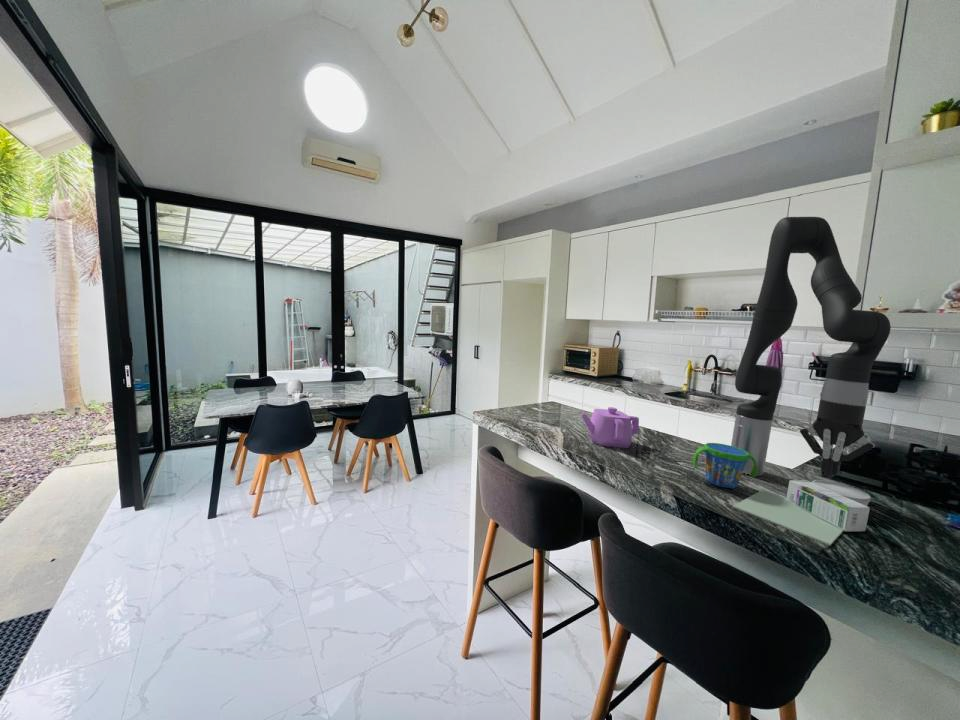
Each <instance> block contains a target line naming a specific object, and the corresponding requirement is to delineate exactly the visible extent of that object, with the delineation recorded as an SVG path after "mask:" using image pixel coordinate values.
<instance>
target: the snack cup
mask: <svg viewBox="0 0 960 720" xmlns="http://www.w3.org/2000/svg"><path fill="white" fill-rule="evenodd" d="M702 452H704V453H705V480H706V481H707V482H709V483H710V484H712V485H713V486H717V487H719V488H725V489H733V490H734V489H735V488H737V486H738V485H739V483H740V480H741V478H742V475H743V473H742V471H743V470H744V466H745V464H746V462H747V461H748V459H749V458H751V459H752V460H753V463H754V465H753V468H752V471H751V473H750V475H749V476H750V477H751V478H756V477H757V476H756V475H757V462H756V460H755V459H754V458H753V457H752V456H751V455H749V453H748V452H746V451H745V450H742V449H740V448H737V447H733V446H731V445H729V444H725V443H719V442H718V443H717V442H706V443H705V444H704V445H703V446H700V447H699V448H697V449H696V451H695V452H694V454H693V456H692V465H693V468H694V469H697V463H698V459H699V454H700V453H702Z"/></svg>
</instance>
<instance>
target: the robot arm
mask: <svg viewBox="0 0 960 720" xmlns="http://www.w3.org/2000/svg"><path fill="white" fill-rule="evenodd" d="M768 247H769V248H768V254H767V259H766V266H765V272H764V275H763V280H762V283H761V284H762V285H761V287H760V293H759V295H758V299H757V302H756V306H755V309H754V313H753V318H752V321H751V326H750V330H749V334H748V337H747V338H748V339H747V343H746V346H745V348H744V352H743V355H742V357H741V360H740V363H739V365H738V368H737V371H736V375H735V380H734V387H735V389H736V391H737V392H738V393H741V394H748V395H754V396H755V395H756V396H759V398H757V399H756V400H754V401H752V402H751V401H750V402H747V403H741V404H738V406H737V407H736V412H735V419H734V426H733V432H732V438H731V444H730V446H733V447H737V448H740V449H742V450H745V451H746V452H748V453H749V455H751V456H752V457H753V458H754V459H755V460H756V462H757V475H756V477H761V475H762V476H763V475H764V472H765V466H766V460H767V454H768V447H769V442H770V437H771V433H772V432H771V430H772V424H773V419H774V415H775V411H776V407H777V403H778V398H779V395H780V394H779V393H780V390H781V386H782V379H783V378H782V377H783V376H782V371H781V370H780V368H779V367H778V366H773V365H764V364H757V363H758V362H759V360H760V358H761V356H762V354H764V352H765V351H766V350H767V349H769V347H771V345H773V344H774V343H775V342H777V340H779V339H780V338H781V337H783V335H784V334H786V333H787V332H788V331H789V330H790V328H791V327H792V325H793V322H794V319H795V315H796V312H797V308H798V298H797V295H796V292H795V290H794V288H793V285H792V283H791V280H790V277H789V274H788V273H789V272H788V271H789V270H788V269H789V260H790V257H791V254H808V255H810V256H811V257H812V258H813V259H814V261H815V266H814V269H813V271H812V273H811V276H810V286H811V290H812V292H813V294H814V296H815V298H816V299H817V301H818V303H819V305H820V306H821V316H822V324H823V325H822V327H823V330H824V332H825V333H826V335H827V336H828V337H829V338H830V339H832V340H834V341H837V342H844V343H851V345H850V347H849V348H848V349H847V350H846V351H842V352H838V353H834V354H832V355H830V357H829V359H828V363H827V368H826V373H825V378H824V379H825V380H824V382H823V384H822V388H821V392H820V393H819V394H820V395H819V397H820V398H819V404H818V409H817V414H816V419H815V420H814V422H813V423H812V425H811V426H808V427H802V428H801V429H800V430H799V433H800V434H801V436H802V438H803V439H804V440H805V441H806V443H807V444H808V446H809V448H810V449H811V451H812V452H813V453H814V454H816V455H819V456H820V457H821V458H822V461H821V466H820V471H821V472H822V473H823V475H824V476H827V477H829V478H834V476H837V475H838V474H839V472H840V470H841V469H840V468H841V463H842V462H850V461H853V460H854V459H856V458H858V457H859V456H862V455H864V454H865V453H866V452H868V451H871V450H873V448H875V447H876V443H874V442H873V441H872V442H871V441H870V440H869V439H867V438H866V437H865V432H864V430H863V423H864V418H865V413H866V408H867V404H868V403H867V402H868V397H869V385H870V384H869V383H870V378H871V372H872V368H873V365H874V363H875V360H876V359H877V358H878V356H879V355H880V353H881V351H882V349H883V347H884V345H885V344H886V342H887V341H888V338H890V337H889V336H890V334H891V322H890V320H889V318H888V316H886V314H884V313H882V312H880V311H873V310H861V309H860V310H859V309H855V308H857V306H859V305H860V303H861V302H862V299H863V298H862V297H863V296H862V294H861V291H860V290H859V288H858V287H857V286H856V285H857V284H855V282H854V281H853V279H852V278H851V276H850V274H849V273H848V271H847V269H846V267H845V265H844V264H843V261H842V257H841V255H840V251H839V247H838V245H837V242H836V239H835V236H834V233H833V229H832V227H831V226H830V224H829V222H828V221H827V220H826V219H825V218H824V217H820V216H786V217H783V218H780V219H779V221H777V223H776V224H775V226H774V228H773V230H772V233H771V236H770V241H769V246H768ZM816 434H817V436H818V438H819V439H820V441H822V446H821V445H820V443H819V441H818V440H817V438H815V435H816ZM857 441H859V442H858V443H857V447H858V448H856V449H855V450H854V451H851V452H850V453H847V454H844V453H845V450H846V448H847V447H849V446H852V444H854V443H856V442H857ZM833 449H834V451H833ZM753 465H754V463H753V460H752V459H751V458H749V459H748V461H747V462H746V464H745V466H744V470H743V471H742V474H743V473H745V474H744V475H747V474H749V475H748V476H751V475H750V473H751V471H752V468H753Z"/></svg>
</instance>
